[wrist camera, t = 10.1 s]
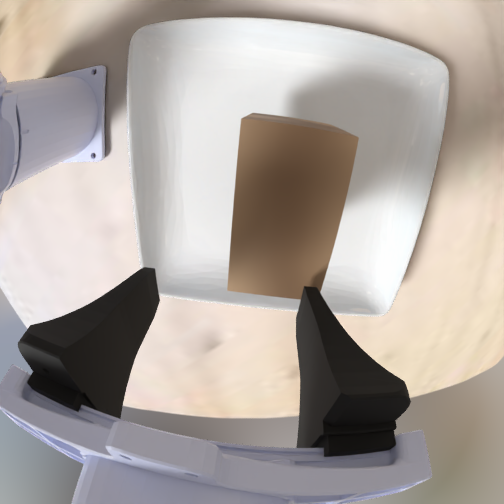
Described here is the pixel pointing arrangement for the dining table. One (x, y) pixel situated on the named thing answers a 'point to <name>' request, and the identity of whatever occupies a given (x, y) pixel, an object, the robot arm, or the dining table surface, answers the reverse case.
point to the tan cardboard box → (287, 203)
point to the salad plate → (289, 105)
